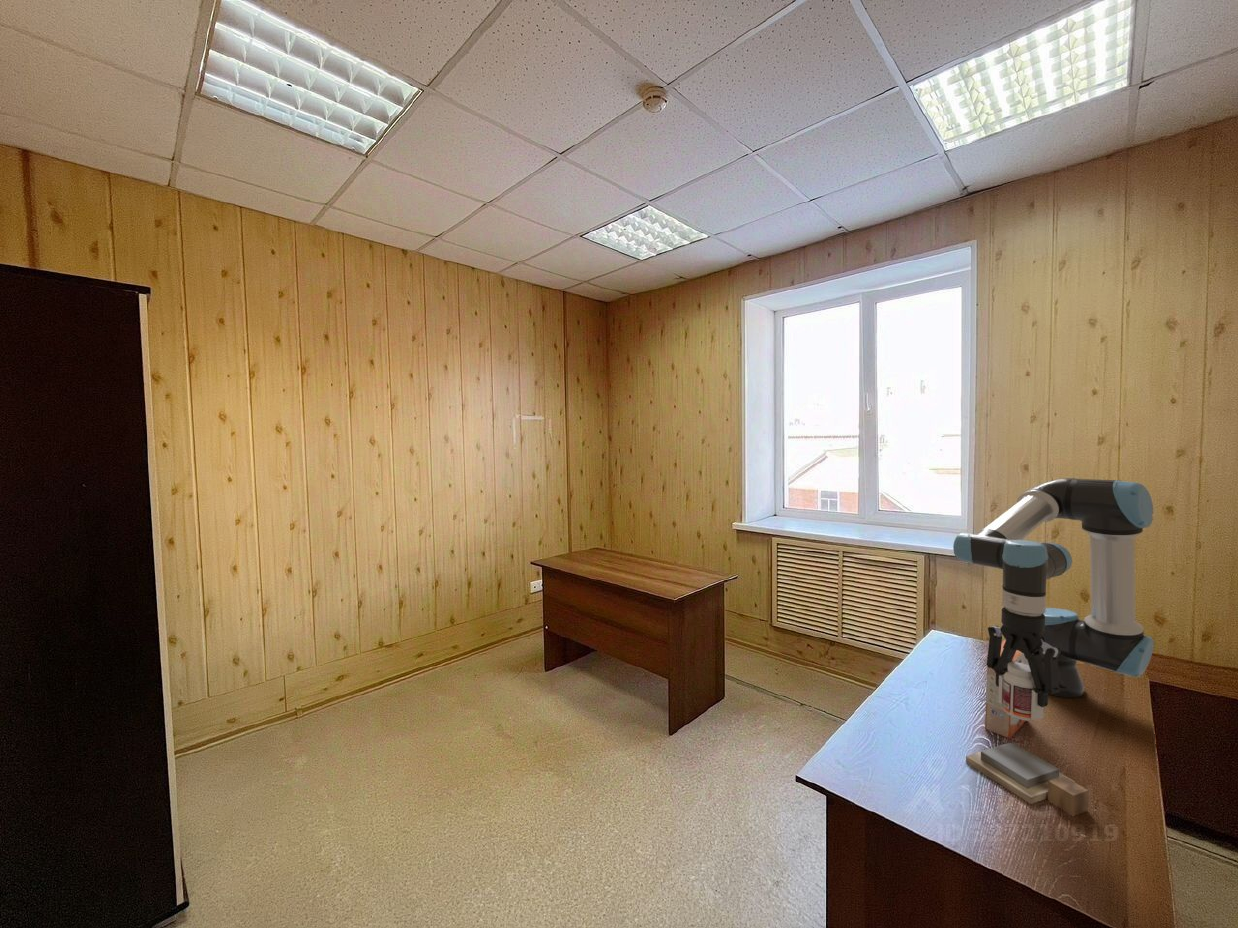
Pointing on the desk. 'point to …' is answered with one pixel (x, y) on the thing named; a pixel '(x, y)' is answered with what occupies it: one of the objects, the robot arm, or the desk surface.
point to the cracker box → (994, 711)
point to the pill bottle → (1018, 691)
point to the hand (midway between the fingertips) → (1020, 709)
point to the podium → (1016, 770)
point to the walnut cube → (1068, 795)
